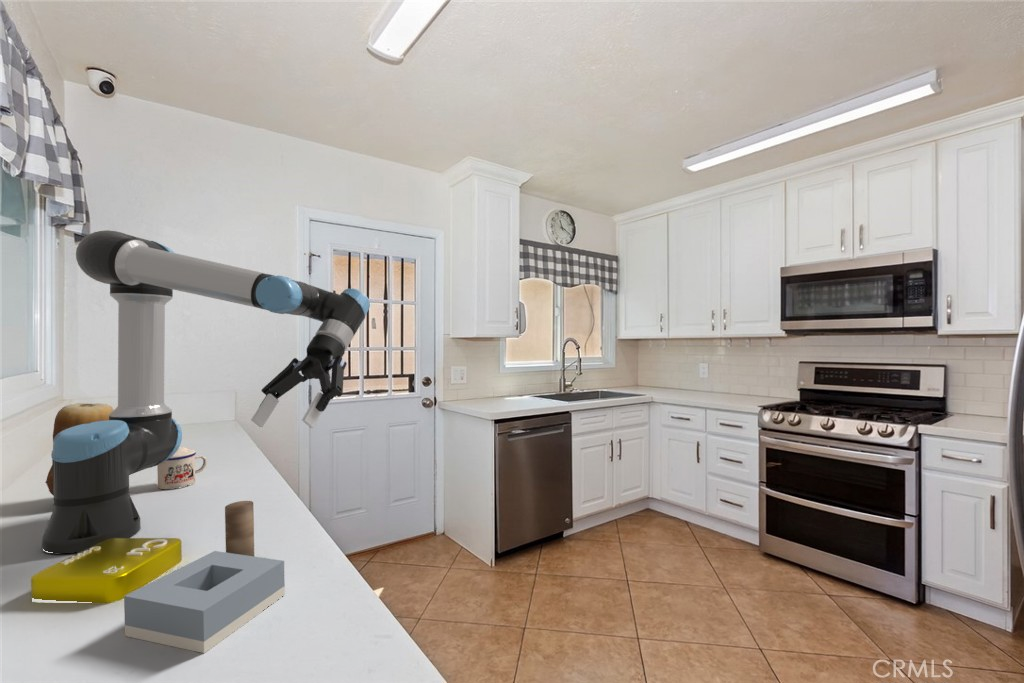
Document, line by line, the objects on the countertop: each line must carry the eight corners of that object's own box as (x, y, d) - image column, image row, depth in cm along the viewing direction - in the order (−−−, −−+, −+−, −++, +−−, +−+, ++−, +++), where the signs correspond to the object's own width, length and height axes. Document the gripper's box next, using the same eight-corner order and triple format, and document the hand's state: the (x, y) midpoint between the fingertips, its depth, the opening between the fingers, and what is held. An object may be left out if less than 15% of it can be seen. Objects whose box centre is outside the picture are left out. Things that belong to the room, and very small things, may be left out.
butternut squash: (114, 502, 118) (112, 404, 118) (40, 514, 110) (38, 409, 110) (121, 488, 129) (119, 398, 129) (54, 498, 122) (52, 403, 122)
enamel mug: (162, 492, 125) (161, 449, 125) (152, 486, 131) (151, 445, 131) (212, 481, 135) (211, 441, 135) (201, 476, 140) (200, 437, 140)
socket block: (124, 635, 64) (124, 596, 64) (215, 583, 78) (214, 550, 78) (204, 653, 60) (203, 611, 60) (284, 595, 74) (284, 560, 74)
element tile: (109, 560, 88) (108, 534, 88) (187, 560, 87) (186, 534, 87) (23, 606, 73) (22, 575, 73) (116, 606, 72) (116, 575, 72)
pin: (220, 570, 82) (218, 508, 82) (240, 559, 86) (239, 499, 86) (240, 573, 81) (238, 510, 81) (260, 561, 85) (259, 501, 85)
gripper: (383, 351, 104) (341, 434, 91) (298, 357, 113) (249, 432, 100) (365, 328, 99) (318, 413, 86) (278, 336, 108) (224, 413, 95)
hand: (281, 424), depth 93 cm, fingers open, 13 cm apart
